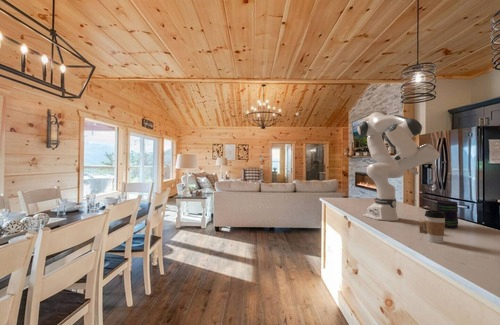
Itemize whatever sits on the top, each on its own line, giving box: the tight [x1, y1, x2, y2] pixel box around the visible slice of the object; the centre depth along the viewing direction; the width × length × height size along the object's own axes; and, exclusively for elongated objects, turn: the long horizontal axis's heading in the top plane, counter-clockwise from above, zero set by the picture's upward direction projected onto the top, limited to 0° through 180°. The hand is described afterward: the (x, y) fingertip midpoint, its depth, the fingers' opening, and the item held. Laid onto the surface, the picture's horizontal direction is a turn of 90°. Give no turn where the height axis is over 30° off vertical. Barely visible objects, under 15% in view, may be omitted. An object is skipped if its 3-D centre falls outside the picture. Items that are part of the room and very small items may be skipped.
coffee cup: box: [424, 209, 446, 244], centre depth 118 cm, size 8×8×15 cm
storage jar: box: [436, 200, 459, 230], centre depth 143 cm, size 10×10×15 cm
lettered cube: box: [418, 219, 428, 235], centre depth 133 cm, size 6×6×6 cm
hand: (425, 171), depth 126 cm, fingers open, 8 cm apart
